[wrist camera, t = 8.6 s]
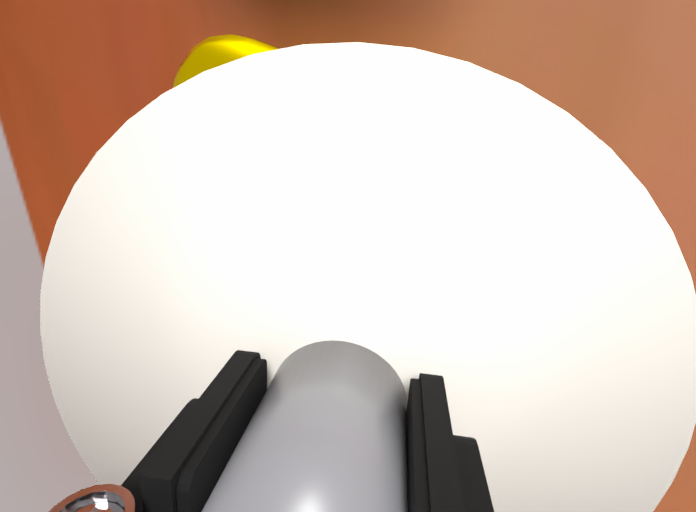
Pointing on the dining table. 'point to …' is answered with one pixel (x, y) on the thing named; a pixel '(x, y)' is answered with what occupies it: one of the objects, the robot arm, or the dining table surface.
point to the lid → (373, 285)
